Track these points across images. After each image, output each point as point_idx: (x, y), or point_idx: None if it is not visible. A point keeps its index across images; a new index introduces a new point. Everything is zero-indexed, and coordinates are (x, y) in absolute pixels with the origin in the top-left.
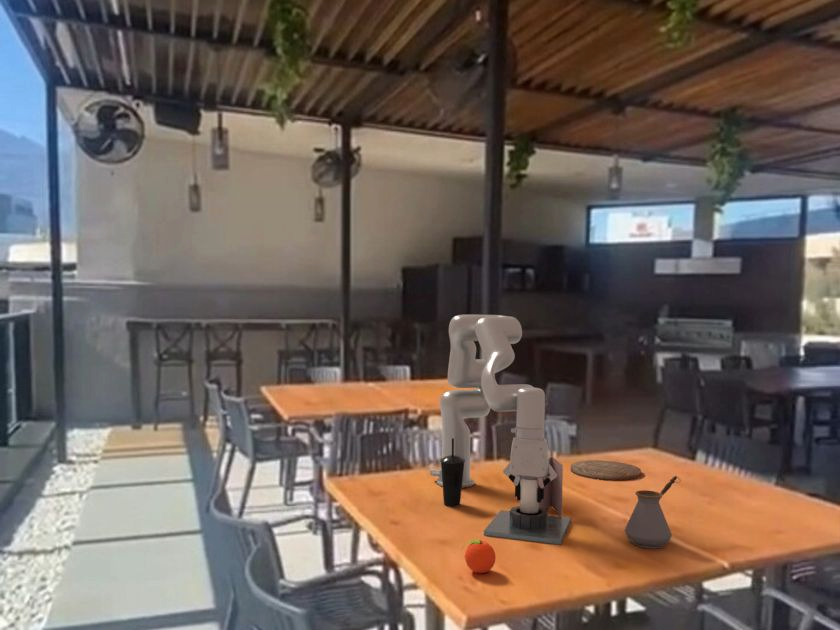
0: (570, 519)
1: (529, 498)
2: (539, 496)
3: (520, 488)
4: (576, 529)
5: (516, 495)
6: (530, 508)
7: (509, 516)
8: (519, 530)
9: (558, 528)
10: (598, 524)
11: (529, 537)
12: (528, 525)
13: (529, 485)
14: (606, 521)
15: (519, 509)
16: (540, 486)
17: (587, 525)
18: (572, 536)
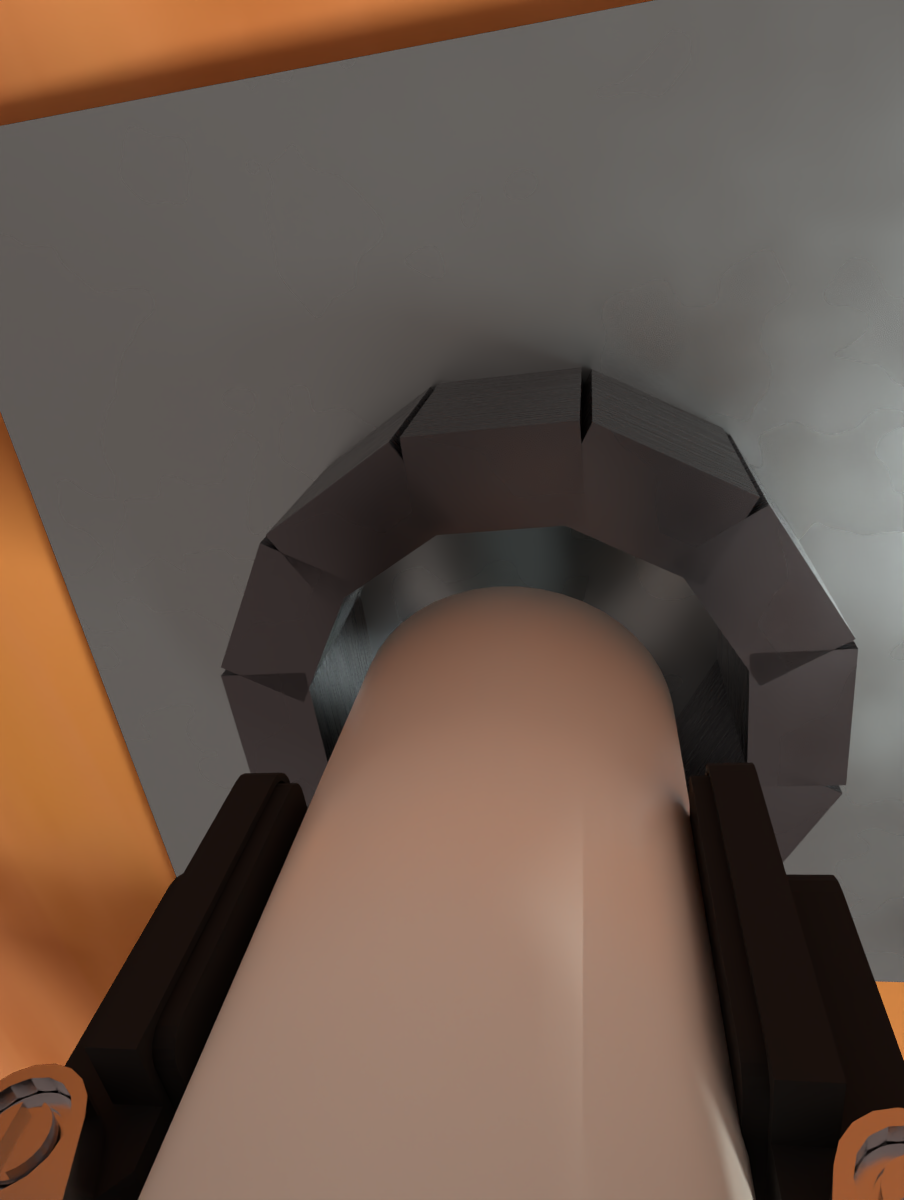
0: None
1: (417, 760)
2: (199, 862)
3: (712, 1038)
4: (90, 765)
5: (796, 881)
6: (432, 642)
7: (856, 809)
8: (576, 283)
9: (155, 612)
10: (12, 942)
11: (345, 66)
12: (451, 398)
13: (334, 1079)
14: (3, 1018)
15: None
16: (76, 1127)
17: (68, 894)
18: (11, 546)
